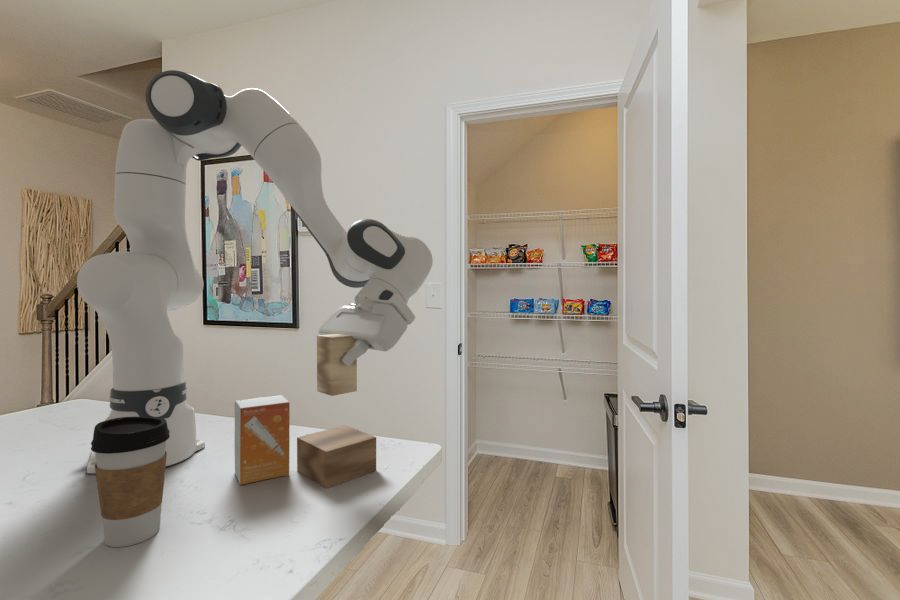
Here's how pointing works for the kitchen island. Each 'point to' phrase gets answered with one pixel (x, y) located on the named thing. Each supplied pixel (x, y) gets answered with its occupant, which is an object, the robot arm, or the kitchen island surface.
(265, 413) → the small box
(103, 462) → the coffee cup
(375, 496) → the kitchen island surface
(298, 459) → the walnut block
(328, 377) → the oak block
